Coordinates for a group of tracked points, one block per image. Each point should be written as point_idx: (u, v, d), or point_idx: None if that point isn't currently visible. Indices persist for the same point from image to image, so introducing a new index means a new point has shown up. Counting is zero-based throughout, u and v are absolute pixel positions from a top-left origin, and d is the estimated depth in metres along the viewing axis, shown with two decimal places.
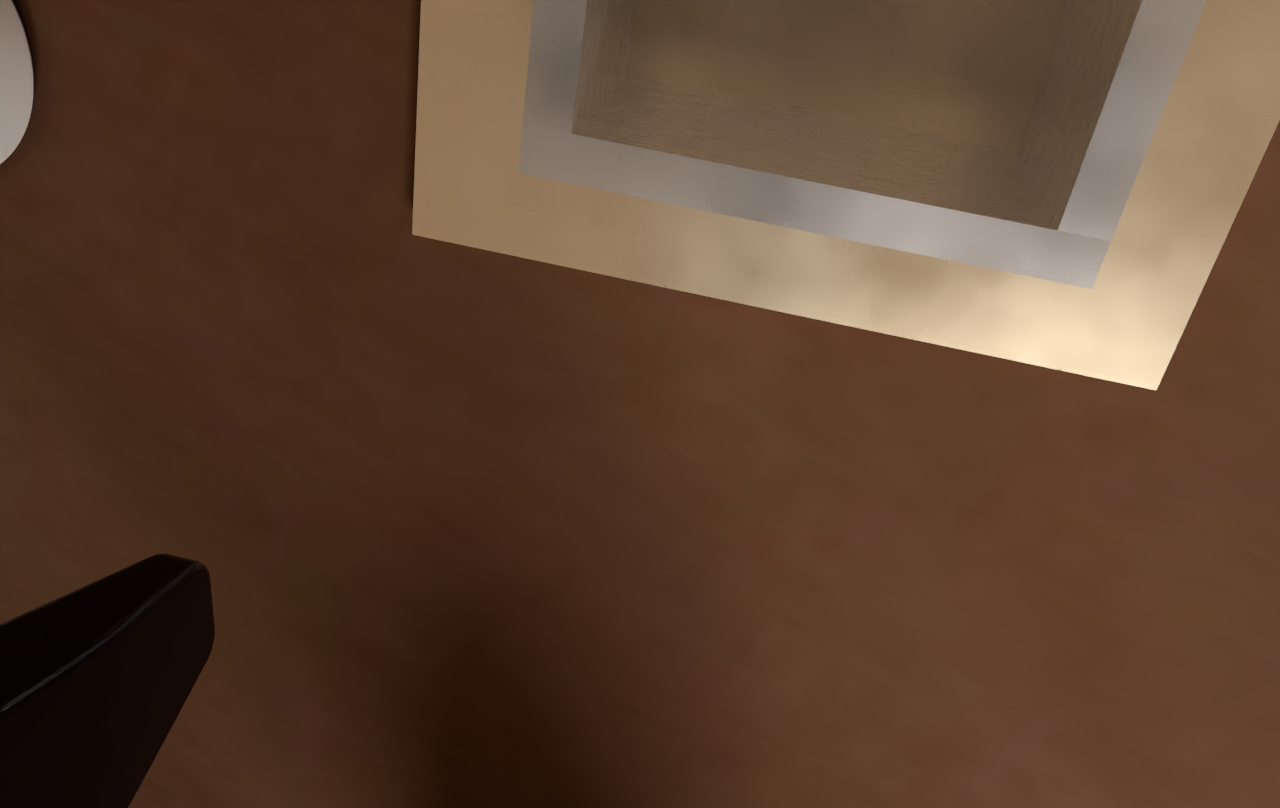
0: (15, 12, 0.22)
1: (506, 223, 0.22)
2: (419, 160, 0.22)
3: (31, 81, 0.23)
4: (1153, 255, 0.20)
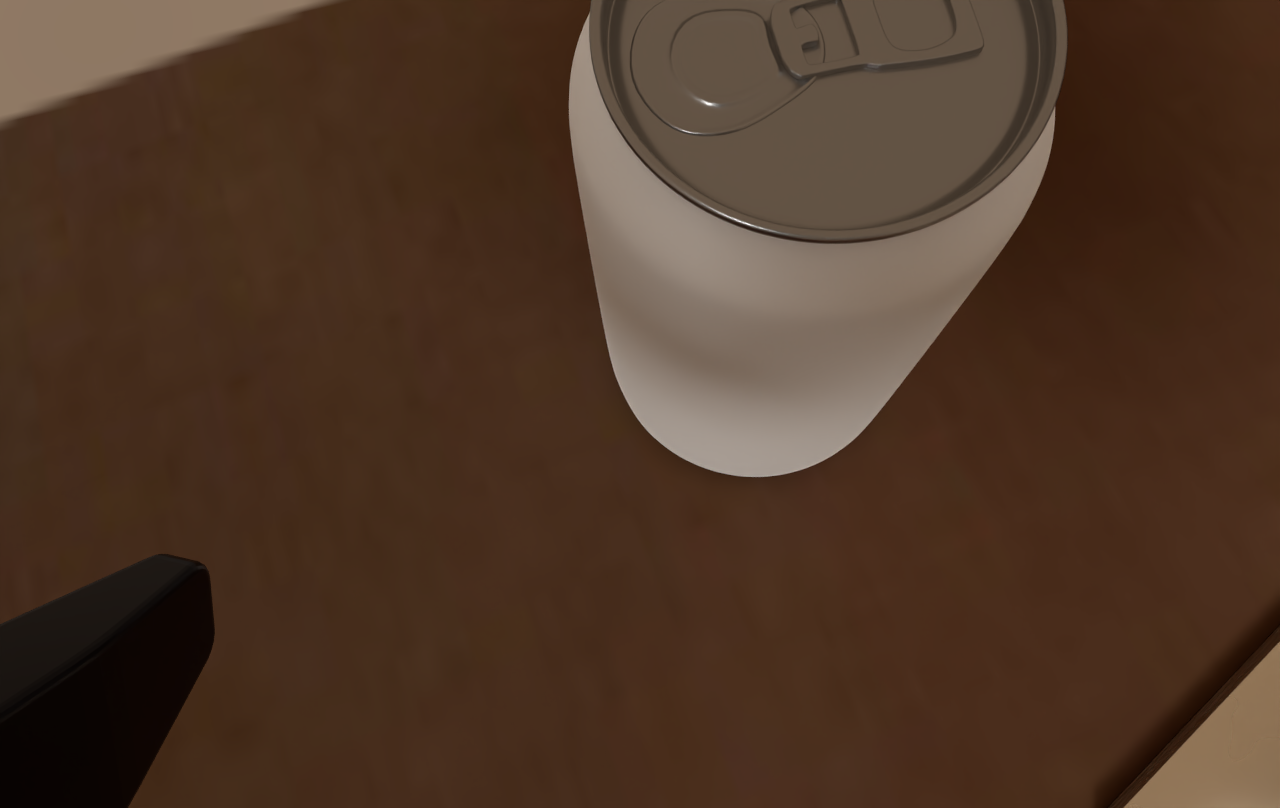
0: None
1: None
2: (1165, 770, 0.21)
3: None
4: None
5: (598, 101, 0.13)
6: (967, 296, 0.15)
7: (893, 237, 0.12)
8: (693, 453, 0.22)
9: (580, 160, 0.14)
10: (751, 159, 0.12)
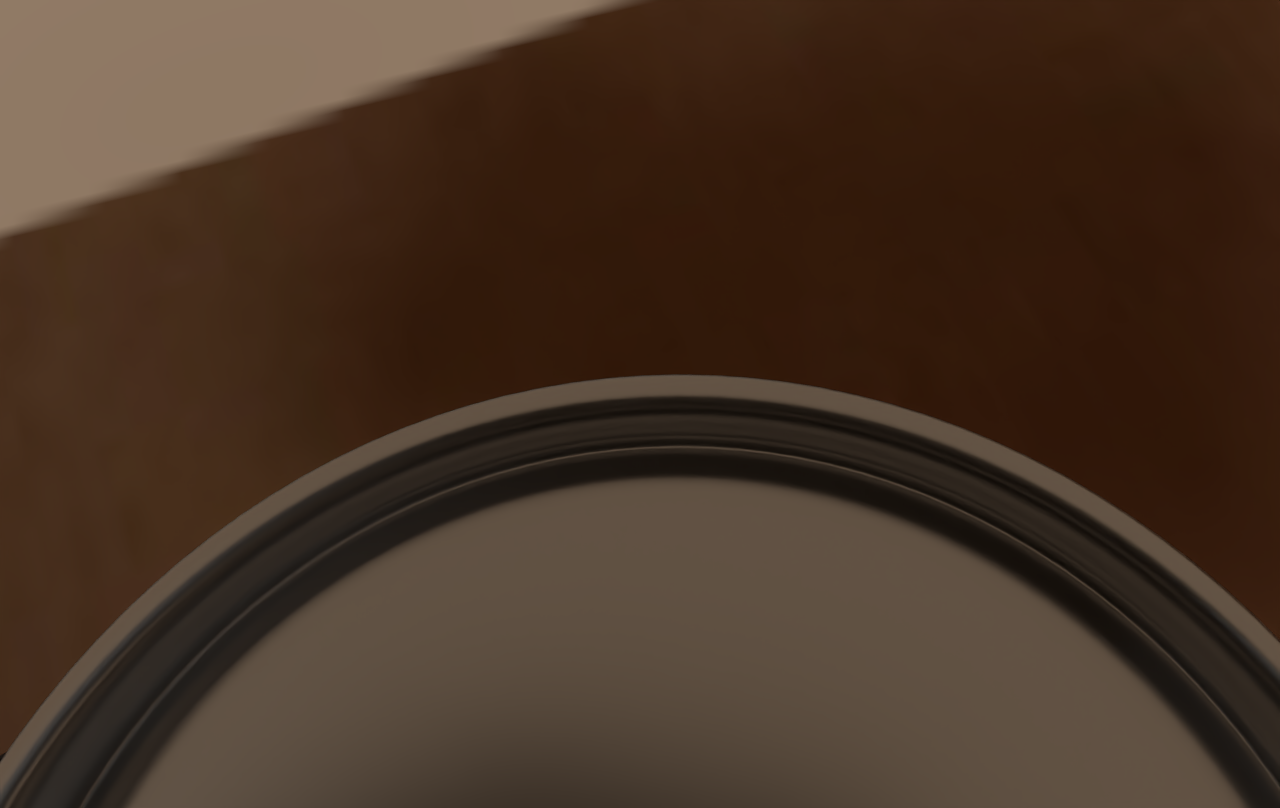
0: None
1: None
2: None
3: None
4: None
5: None
6: None
7: None
8: None
9: None
10: None
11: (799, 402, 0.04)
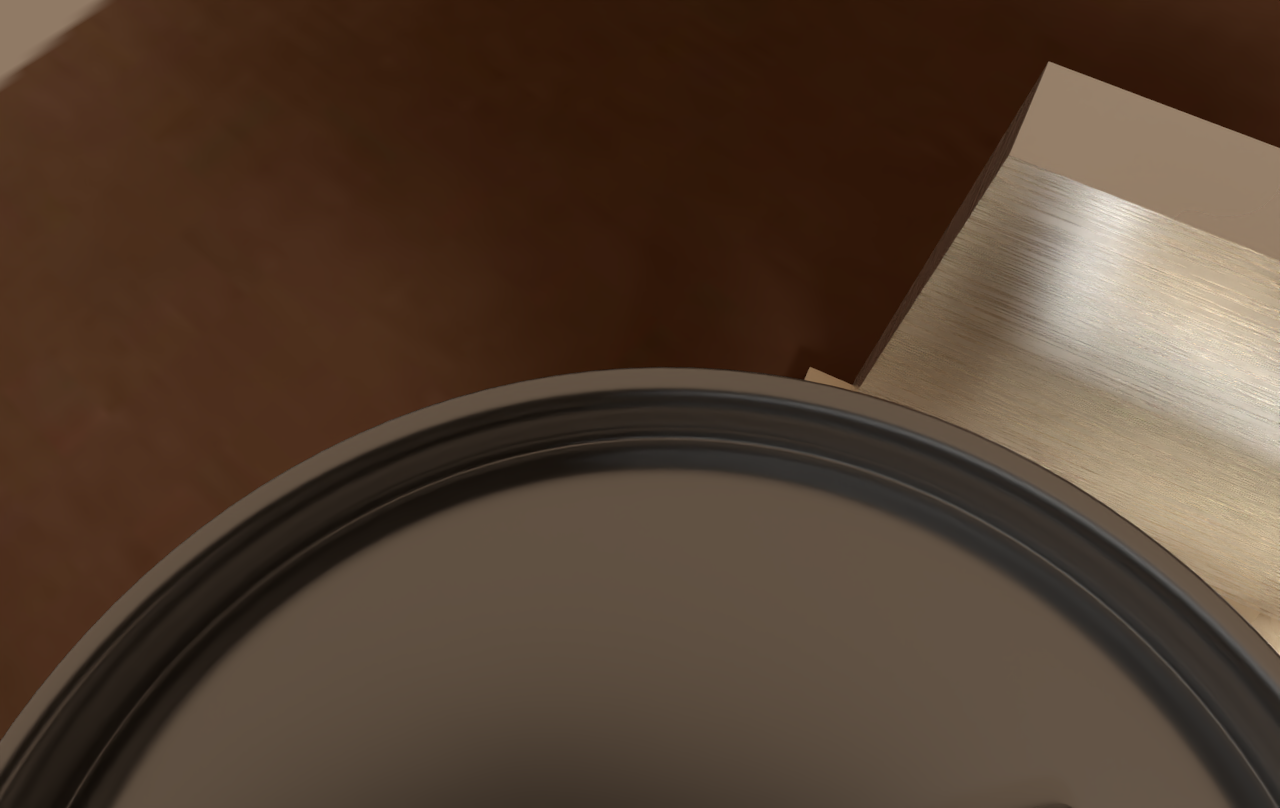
0: None
1: None
2: None
3: None
4: None
5: None
6: None
7: None
8: None
9: None
10: None
11: (777, 393, 0.04)
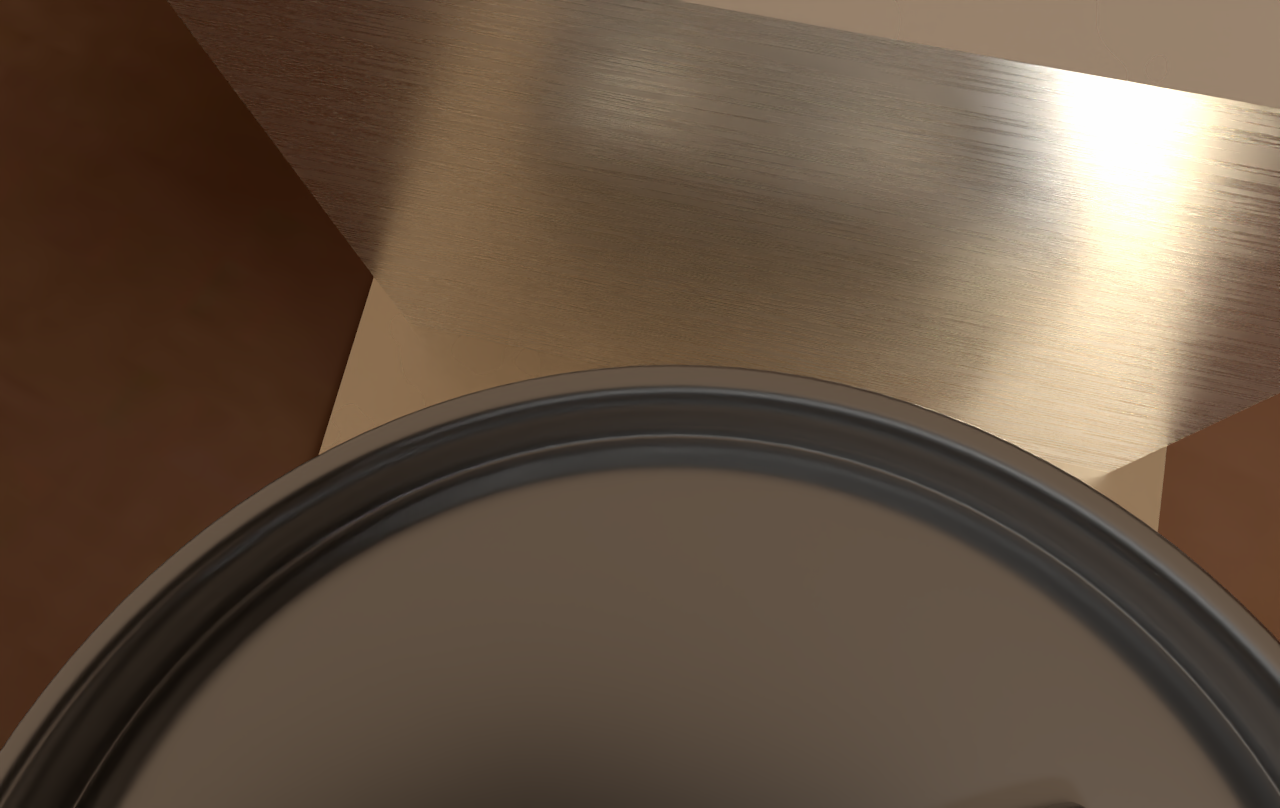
0: None
1: None
2: None
3: None
4: None
5: None
6: None
7: None
8: None
9: None
10: None
11: (787, 392, 0.04)
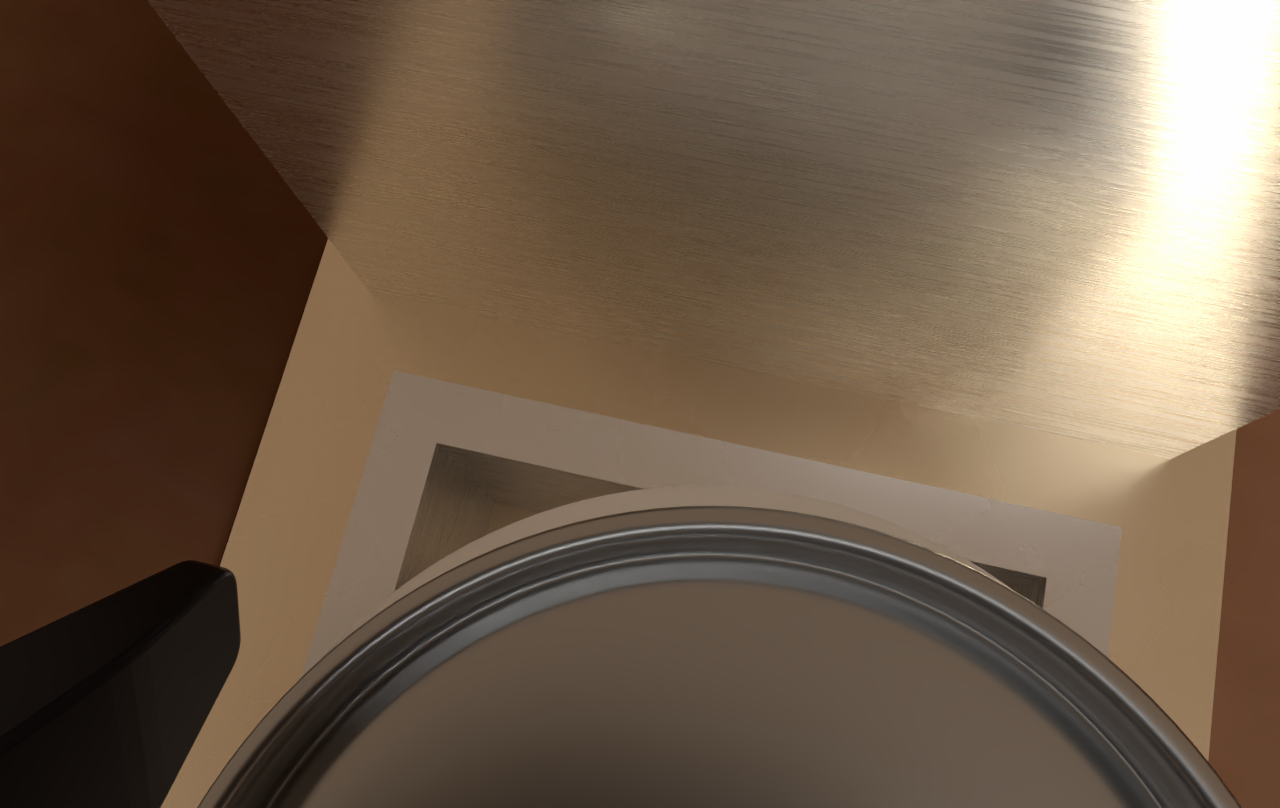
0: None
1: None
2: None
3: None
4: None
5: None
6: None
7: None
8: None
9: None
10: None
11: (804, 529, 0.05)
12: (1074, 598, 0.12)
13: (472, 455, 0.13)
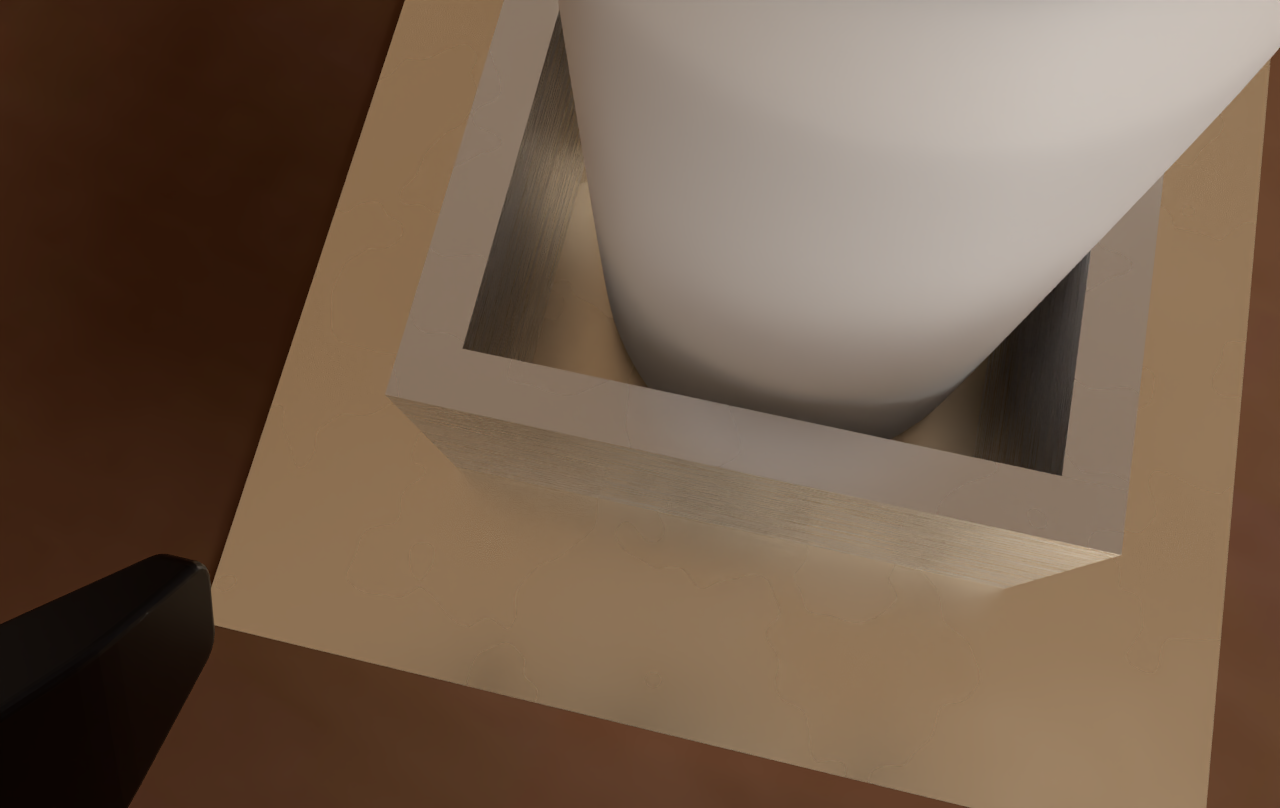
0: None
1: (333, 607, 0.17)
2: (238, 522, 0.17)
3: None
4: (1144, 661, 0.16)
5: None
6: None
7: None
8: None
9: None
10: None
11: None
12: None
13: None
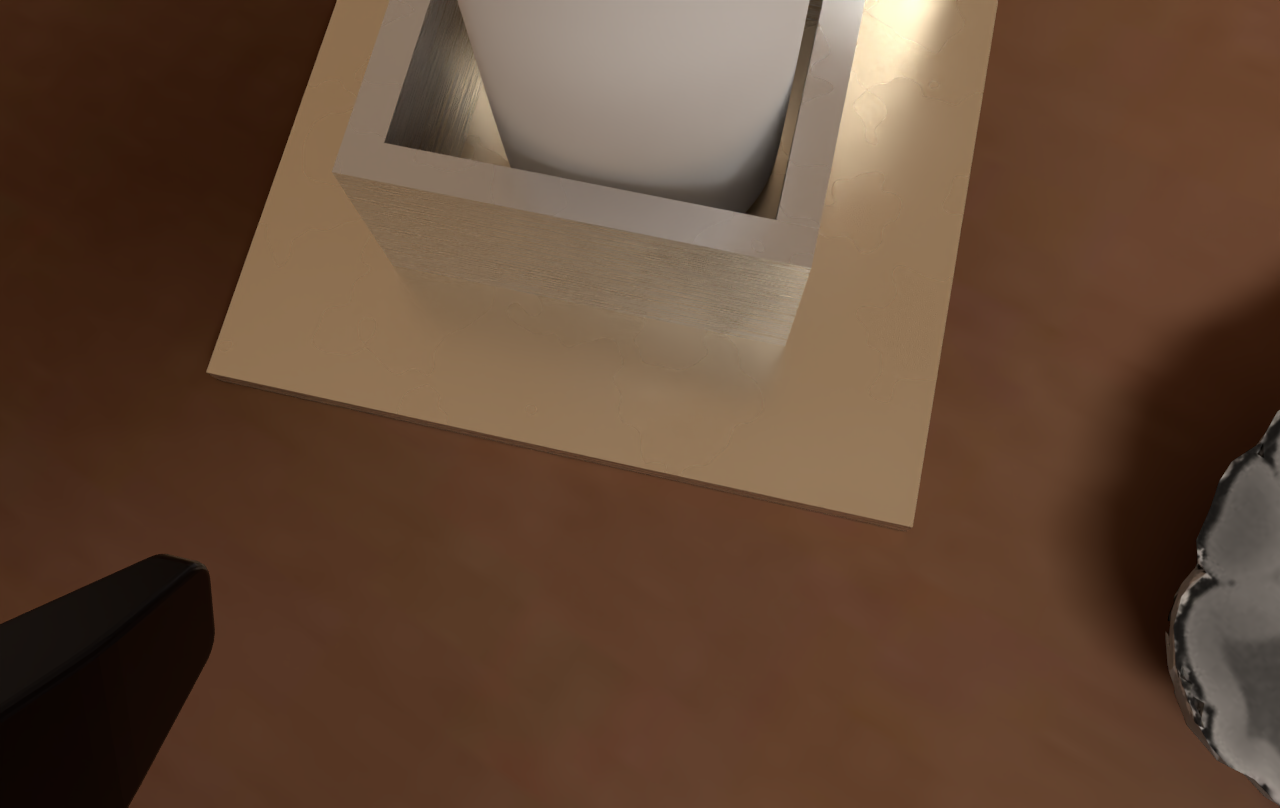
0: None
1: (302, 362, 0.24)
2: (234, 305, 0.24)
3: None
4: (881, 394, 0.23)
5: None
6: None
7: None
8: None
9: None
10: None
11: None
12: None
13: None
